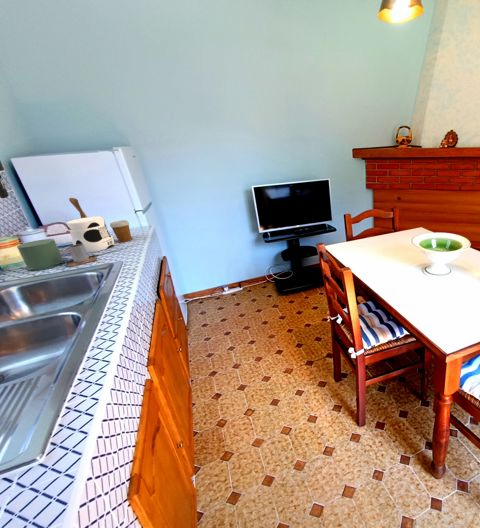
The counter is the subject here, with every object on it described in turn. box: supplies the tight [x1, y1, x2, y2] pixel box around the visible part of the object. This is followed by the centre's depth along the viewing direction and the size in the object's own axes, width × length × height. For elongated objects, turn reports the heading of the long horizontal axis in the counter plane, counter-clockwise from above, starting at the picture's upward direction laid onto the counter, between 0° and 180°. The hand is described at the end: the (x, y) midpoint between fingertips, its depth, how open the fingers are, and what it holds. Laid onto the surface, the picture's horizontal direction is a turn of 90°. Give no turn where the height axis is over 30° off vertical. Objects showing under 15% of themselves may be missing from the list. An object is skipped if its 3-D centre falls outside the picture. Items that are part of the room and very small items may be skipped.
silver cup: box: [67, 244, 90, 263], centre depth 150 cm, size 6×6×8 cm
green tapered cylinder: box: [16, 238, 66, 272], centre depth 146 cm, size 14×14×12 cm
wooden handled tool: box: [68, 197, 88, 219], centre depth 179 cm, size 7×19×28 cm, turn 44°
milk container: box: [66, 216, 115, 254], centre depth 164 cm, size 17×17×18 cm
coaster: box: [66, 255, 98, 268], centre depth 152 cm, size 11×11×1 cm
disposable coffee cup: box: [109, 219, 133, 244], centre depth 182 cm, size 10×10×12 cm
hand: (5, 197), depth 137 cm, fingers open, 8 cm apart
